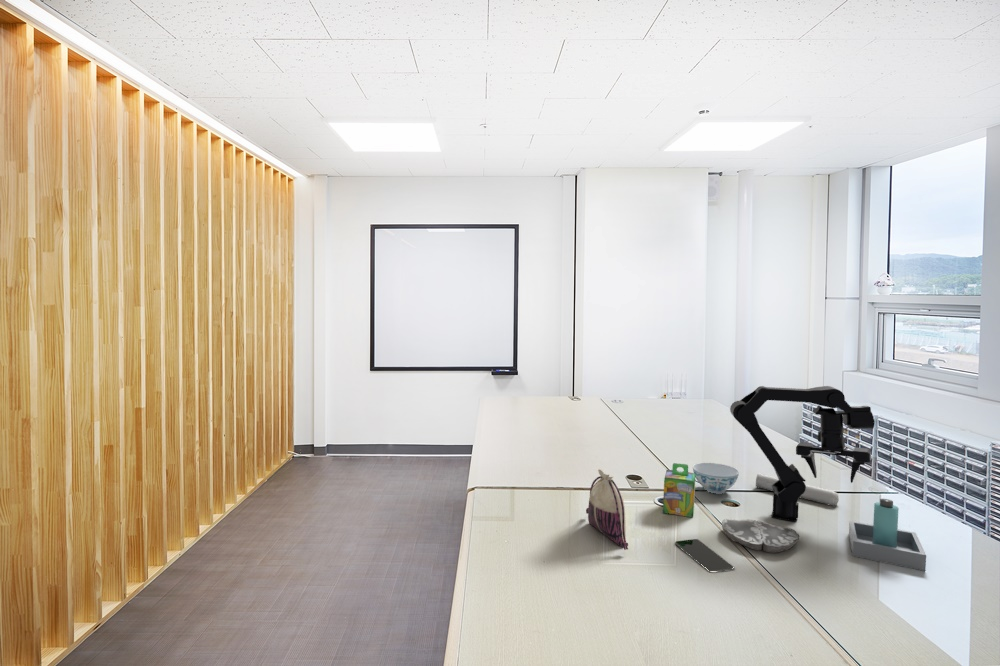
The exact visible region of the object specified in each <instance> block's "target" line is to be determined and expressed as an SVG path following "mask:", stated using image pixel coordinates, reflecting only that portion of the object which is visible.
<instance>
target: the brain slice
mask: <svg viewBox="0 0 1000 666" xmlns="http://www.w3.org/2000/svg"><path fill="white" fill-rule="evenodd" d="M721 529H722V530H723V531H724V533H725V535H726V536H727V537H728V539H730V540H731V541H732V542H734V543H738V544H740V545H742V546H744V547H747V548H749V549H750V550H755V551H759V552H760V551H764V552H766V553H781V552H783V551H784V552H785V551H788V550H789V549H792V547H793V546H794V545H795V544H796V543H797V542H799V540H800V537H801V536H800V534H799V533H798V532H797V531H796V530H795V529H793V528H790V527H787V526H786V527H785V526H780V525H774V524H771V523H769V522H768V523H767V522H766V521H762V520H754V519H749V518H747V519H732V518H725V519H723V520H722V522H721Z"/></svg>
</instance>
